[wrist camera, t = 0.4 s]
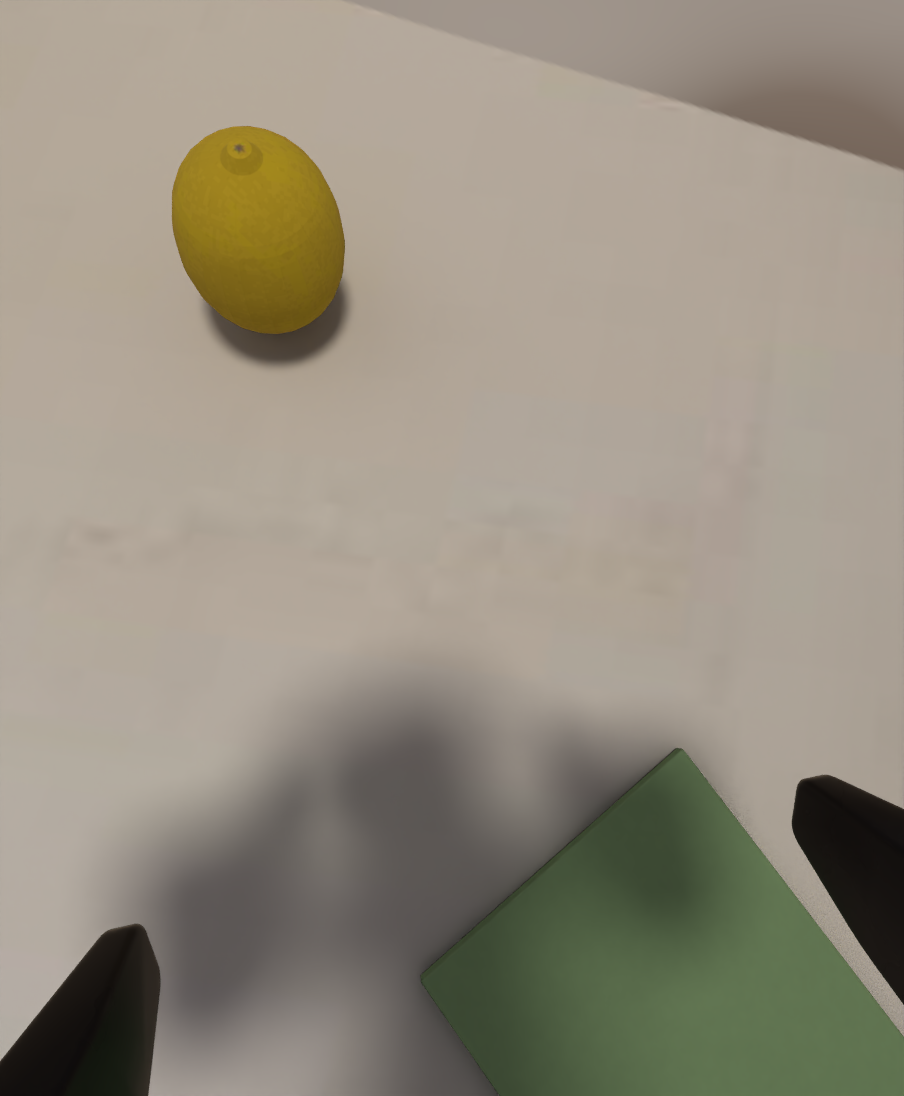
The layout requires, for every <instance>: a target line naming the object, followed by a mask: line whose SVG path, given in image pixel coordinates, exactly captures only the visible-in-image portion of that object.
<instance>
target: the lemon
mask: <svg viewBox="0 0 904 1096" xmlns="http://www.w3.org/2000/svg"><path fill="white" fill-rule="evenodd" d="M172 224H173V232H174V237H175V241H176V244H177V247H178V251H179V254H180V257H181V261H182V263H183V266H184V268H185V270H186V272H187V274H188V276H189V277H190V279H191V281H192V282H193V284H194V285H195V287H196V288H197V290H198V291H199V293H200V294H201V296H202V297H203V298H204V300H205V301H206V302H207V303H208V304H209V305H211V306H212V307H213V308H214V309H215V310H216V311H217V312H218V313H219V314H220V315H222V316H223V317H224V318H225V319H227V320H229V321H231V322H233V323H235V324H236V325H238V326H240V327H242V328H244V329H248V330H251V331H255V332H259V333H270V334H280V333H285V332H291V331H295V330H297V329H299V328H301V327H304V326H306V325H308V324H309V323H311V322H312V321H313V320H315V319H316V318H317V317H318V316H320V315H321V314H322V313H323V312H324V310H325V309H326V308H327V306H328V305H329V304H330V302H331V301H332V300H333V298H334V296H335V293H336V291H337V288H338V286H339V283H340V280H341V278H342V273H343V264H344V253H345V240H344V233H343V228H342V223H341V218H340V214H339V210H338V207H337V204H336V201H335V199H334V196H333V194H332V192H331V190H330V188H329V186H328V184H327V182H326V180H325V178H324V177H323V175H322V173H321V171H320V170H319V168H318V167H317V166H316V164H315V163H314V162H313V161H312V160H311V159H310V158H309V156H308V155H307V154H306V153H305V152H304V151H303V150H302V149H301V148H299V147H298V146H297V145H295V144H294V143H293V142H291V141H290V140H288V139H287V138H285V137H283V136H281V135H278V134H276V133H274V132H271V131H269V130H266V129H262V128H257V127H251V126H239V127H230V128H226V129H222V130H218V131H216V132H214V133H212V134H210V135H208V136H206V137H205V138H204V139H203V140H201V141H200V142H199V143H198V144H197V145H196V146H194V147H193V148H192V149H191V150H190V151H189V153H188V154H187V156H186V157H185V159H184V160H183V162H182V163H181V165H180V167H179V169H178V173H177V176H176V179H175V182H174V186H173V191H172Z"/></svg>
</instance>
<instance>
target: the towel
mask: <svg viewBox="0 0 904 1096" xmlns="http://www.w3.org/2000/svg"><path fill="white" fill-rule="evenodd" d="M420 977H421V983H422V984H423V986H424V987H425V989H426V990H427V992H428V993H429V994H430V996H431V997H432V999H433V1000H434V1002H435V1003H436V1005H437V1006H438V1007H439V1009H440V1010H441V1012H442V1013H443V1015H444V1016H445V1018H446V1019H447V1020H448V1022H449V1023H450V1025H451V1026H452V1028H453V1029H454V1031H455V1032H456V1033H457V1035H458V1036H459V1038H460V1039H461V1041H462V1042H463V1044H464V1045H465V1047H466V1048H467V1049H468V1051H469V1052H470V1054H471V1055H472V1057H473V1058H474V1060H475V1061H476V1062H477V1064H478V1065H479V1067H480V1068H481V1070H482V1071H483V1073H484V1074H485V1075H486V1077H487V1078H488V1080H489V1081H490V1083H491V1084H492V1086H493V1087H494V1089H495V1090H496V1091H497V1093H498V1094H499V1096H904V1037H903V1035H902V1034H901V1033H900V1031H899V1030H898V1029H897V1028H896V1026H895V1025H894V1024H893V1022H892V1021H891V1020H890V1018H889V1017H888V1016H887V1015H886V1013H885V1012H884V1011H883V1009H882V1008H881V1007H880V1005H879V1004H878V1003H877V1001H876V1000H875V999H874V998H873V996H872V995H871V994H870V992H869V991H868V990H867V988H866V987H865V986H864V985H863V983H862V982H861V981H860V979H859V978H858V977H857V975H856V974H855V973H854V972H853V970H852V969H851V968H850V966H849V965H848V964H847V962H846V961H845V960H844V958H843V957H842V956H841V955H840V953H839V952H838V951H837V949H836V948H835V947H834V945H833V944H832V943H831V942H830V940H829V939H828V938H827V936H826V935H825V934H824V932H823V931H822V930H821V929H820V927H819V926H818V925H817V923H816V922H815V921H814V919H813V918H812V917H811V915H810V914H809V913H808V912H807V910H806V909H805V908H804V906H803V905H802V904H801V902H800V901H799V900H798V899H797V897H796V896H795V895H794V893H793V892H792V891H791V889H790V888H789V887H788V885H787V884H786V883H785V882H784V880H783V879H782V878H781V876H780V875H779V874H778V872H777V871H776V870H775V869H774V867H773V866H772V865H771V863H770V862H769V861H768V859H767V858H766V857H765V856H764V854H763V853H762V852H761V850H760V849H759V848H758V846H757V845H756V844H755V842H754V841H753V840H752V839H751V837H750V836H749V835H748V833H747V832H746V831H745V829H744V828H743V827H742V826H741V824H740V823H739V822H738V820H737V819H736V818H735V816H734V815H733V814H732V813H731V811H730V810H729V809H728V807H727V806H726V805H725V803H724V802H723V801H722V799H721V798H720V797H719V796H718V794H717V793H716V792H715V790H714V789H713V788H712V786H711V785H710V784H709V783H708V781H707V780H706V779H705V777H704V776H703V775H702V773H701V772H700V771H699V770H698V768H697V767H696V766H695V764H694V763H693V762H692V760H691V759H690V758H689V756H688V755H687V754H686V753H685V751H684V750H683V749H679V748H676V749H675V750H674V751H673V752H672V753H671V754H670V755H668V756H667V757H666V758H665V759H664V760H663V761H662V762H661V763H659V764H658V765H657V766H656V767H655V768H654V769H653V770H652V771H650V772H649V773H648V774H647V775H646V776H645V777H644V778H643V779H641V780H640V781H639V782H638V783H637V784H636V785H635V786H634V787H632V788H631V789H630V790H629V791H628V792H627V793H626V794H625V795H623V796H622V797H621V798H620V799H619V800H618V801H617V802H616V803H614V804H613V805H612V806H611V807H610V808H609V809H608V810H606V811H605V812H604V813H603V814H602V815H601V816H600V817H599V818H597V819H596V820H595V821H594V822H593V823H592V824H591V825H590V826H588V827H587V828H586V829H585V830H584V831H583V832H582V833H581V834H579V835H578V836H577V837H576V838H575V839H574V840H573V841H572V842H570V843H569V844H568V845H567V846H566V847H565V848H564V849H563V850H561V851H560V852H559V853H558V854H557V855H556V856H555V857H553V858H552V859H551V860H550V861H549V862H548V863H547V864H546V865H544V866H543V867H542V868H541V869H540V870H539V871H538V872H537V873H535V874H534V875H533V876H532V877H531V878H530V879H529V880H528V881H526V882H525V883H524V884H523V885H522V886H521V887H520V888H519V889H517V890H516V891H515V892H514V893H513V894H512V895H511V896H510V897H508V898H507V899H506V900H505V901H504V902H503V903H502V904H500V905H499V906H498V907H497V908H496V909H495V910H494V911H493V912H491V913H490V914H489V915H488V916H487V917H486V918H485V919H484V920H482V921H481V922H480V923H479V924H478V925H477V926H476V927H475V928H473V929H472V930H471V931H470V932H469V933H468V934H467V935H466V936H464V937H463V938H462V939H461V940H460V941H459V942H458V943H457V944H455V945H454V946H453V947H452V948H451V949H450V950H449V951H447V952H446V953H445V954H444V955H443V956H442V957H441V958H440V959H438V960H437V961H436V962H435V963H434V964H433V965H432V966H431V967H429V968H428V969H427V970H426V971H425V972H424V973H423V974H422V975H421V976H420Z"/></svg>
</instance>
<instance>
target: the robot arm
mask: <svg viewBox="0 0 904 1096" xmlns="http://www.w3.org/2000/svg"><path fill="white" fill-rule="evenodd" d="M792 829H793V833H794V835H795V838H796V840H797V842H798V844H799V845H800V847H801V849H802V850H803V852H804V854H805V855H806V857H807V858H808V860H809V862H810V863H811V865H812V867H813V868H814V870H815V872H816V873H817V875H818V877H819V878H820V880H821V882H822V883H823V885H824V886H825V888H826V890H827V891H828V893H829V895H830V896H831V898H832V900H833V901H834V903H835V905H836V906H837V908H838V910H839V911H840V913H841V914H842V916H843V918H844V919H845V921H846V923H847V924H848V926H849V928H850V929H851V931H852V932H853V934H854V935H855V937H856V938H857V940H858V942H859V943H860V945H861V946H862V948H863V949H864V950H865V952H866V953H867V955H868V956H869V958H870V959H871V960H872V962H873V963H874V965H875V966H876V967H877V969H878V970H879V972H880V973H881V974H882V976H883V977H884V978H885V980H886V981H887V982H888V984H889V985H890V987H891V988H892V989H893V991H894V992H895V993H896V995H897V996H898V998H899V999H900V1000H901V1002H902V1003H903V1004H904V809H902V808H900V807H898V806H896V805H894V804H892V803H889V802H887V801H885V800H883V799H881V798H879V797H876V796H874V795H872V794H870V793H868V792H866V791H864V790H861V789H859V788H857V787H855V786H853V785H851V784H848V783H846V782H844V781H842V780H840V779H838V778H836V777H833V776H830V775H820V776H815V777H810V778H806V779H803V780H801V781H800V782H799V784H798V785H797V790H796V796H795V803H794V809H793V816H792ZM160 980H161V979H160V970H159V966H158V963H157V960H156V957H155V954H154V952H153V949H152V946H151V944H150V941H149V938H148V935H147V933H146V930H145V928H144V927H143V926H142V925H140V924H132V925H128V926H123V927H118V928H114V929H110V930H108V931H106V932H105V933H104V934H103V935H101V937H100V938H99V939H98V940H97V941H96V943H95V944H94V945H93V946H92V948H91V949H90V950H89V951H88V952H87V954H86V955H85V956H84V957H83V959H82V960H81V961H80V962H79V964H78V965H77V966H76V967H75V969H74V970H73V971H72V972H71V974H70V975H69V976H68V977H67V979H66V980H65V981H64V982H63V984H62V985H61V986H60V987H59V989H58V990H57V991H56V992H55V994H54V995H53V996H52V997H51V999H50V1000H49V1001H48V1002H47V1004H46V1005H45V1006H44V1007H43V1009H42V1010H41V1011H40V1012H39V1014H38V1015H37V1016H36V1017H35V1019H34V1020H33V1021H32V1022H31V1024H30V1025H29V1026H28V1027H27V1029H26V1030H25V1031H24V1032H23V1033H22V1035H21V1036H20V1037H19V1038H18V1040H17V1041H16V1042H15V1043H14V1045H13V1046H12V1047H11V1048H10V1050H9V1051H8V1052H7V1053H6V1055H5V1056H4V1057H3V1058H2V1060H1V1061H0V1096H148V1093H149V1084H150V1075H151V1066H152V1058H153V1049H154V1040H155V1031H156V1022H157V1013H158V1004H159V995H160Z"/></svg>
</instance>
